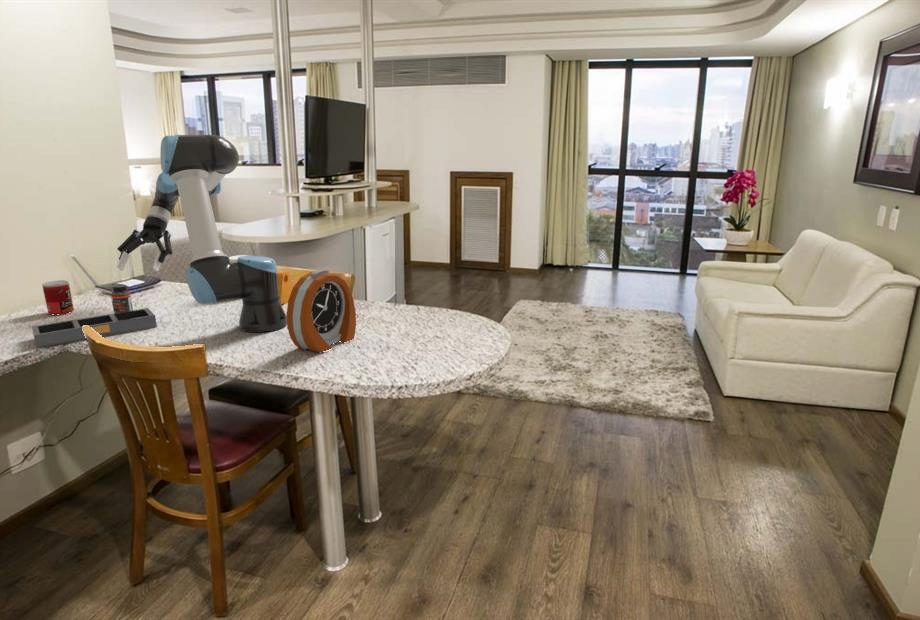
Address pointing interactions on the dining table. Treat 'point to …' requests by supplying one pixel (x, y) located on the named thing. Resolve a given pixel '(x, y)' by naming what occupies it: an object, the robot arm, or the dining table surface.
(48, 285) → the canned food
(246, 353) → the dining table surface
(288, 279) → the yellow cheese block
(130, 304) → the supplement bottle
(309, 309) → the alarm clock
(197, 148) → the robot arm
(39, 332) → the compartment tray
